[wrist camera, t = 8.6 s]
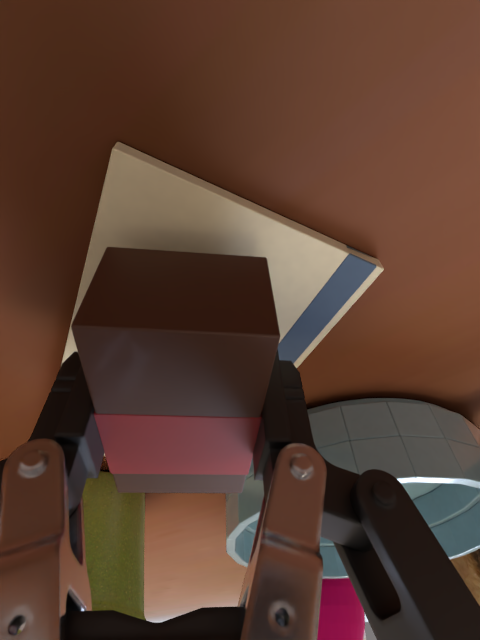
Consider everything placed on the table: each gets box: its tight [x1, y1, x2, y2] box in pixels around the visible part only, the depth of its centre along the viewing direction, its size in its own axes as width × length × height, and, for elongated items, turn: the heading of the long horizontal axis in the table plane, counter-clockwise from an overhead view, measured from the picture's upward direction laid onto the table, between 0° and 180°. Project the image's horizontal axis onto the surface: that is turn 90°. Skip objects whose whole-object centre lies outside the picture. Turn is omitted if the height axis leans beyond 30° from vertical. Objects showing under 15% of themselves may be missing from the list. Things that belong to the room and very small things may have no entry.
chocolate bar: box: [71, 247, 280, 493], centre depth 11 cm, size 8×4×3 cm, turn 174°
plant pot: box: [17, 471, 146, 634], centre depth 21 cm, size 9×9×9 cm
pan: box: [226, 398, 480, 579], centre depth 21 cm, size 15×16×4 cm
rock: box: [451, 549, 480, 606], centre depth 36 cm, size 11×9×10 cm
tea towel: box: [60, 142, 384, 456], centre depth 16 cm, size 16×9×1 cm, turn 154°
